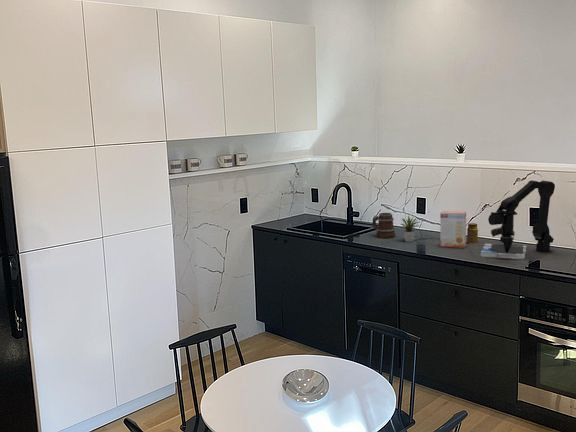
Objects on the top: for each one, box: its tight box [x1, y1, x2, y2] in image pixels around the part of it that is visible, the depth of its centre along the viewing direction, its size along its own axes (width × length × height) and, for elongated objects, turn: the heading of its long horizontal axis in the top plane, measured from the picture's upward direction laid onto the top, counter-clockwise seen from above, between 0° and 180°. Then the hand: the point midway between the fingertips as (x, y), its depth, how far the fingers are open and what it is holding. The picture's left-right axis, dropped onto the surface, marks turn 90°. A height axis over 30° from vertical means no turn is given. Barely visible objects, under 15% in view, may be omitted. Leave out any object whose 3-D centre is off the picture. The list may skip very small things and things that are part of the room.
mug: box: [371, 212, 396, 239], centre depth 385 cm, size 16×12×15 cm
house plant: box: [400, 214, 420, 243], centre depth 368 cm, size 14×14×16 cm
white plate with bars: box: [480, 243, 527, 260], centre depth 328 cm, size 22×22×4 cm
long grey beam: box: [491, 243, 524, 254], centre depth 322 cm, size 16×4×4 cm, turn 66°
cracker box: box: [439, 210, 467, 249], centre depth 349 cm, size 14×6×21 cm, turn 65°
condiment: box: [466, 222, 479, 246], centre depth 355 cm, size 7×8×12 cm
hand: (507, 251), depth 323 cm, fingers closed on long grey beam, 4 cm apart
